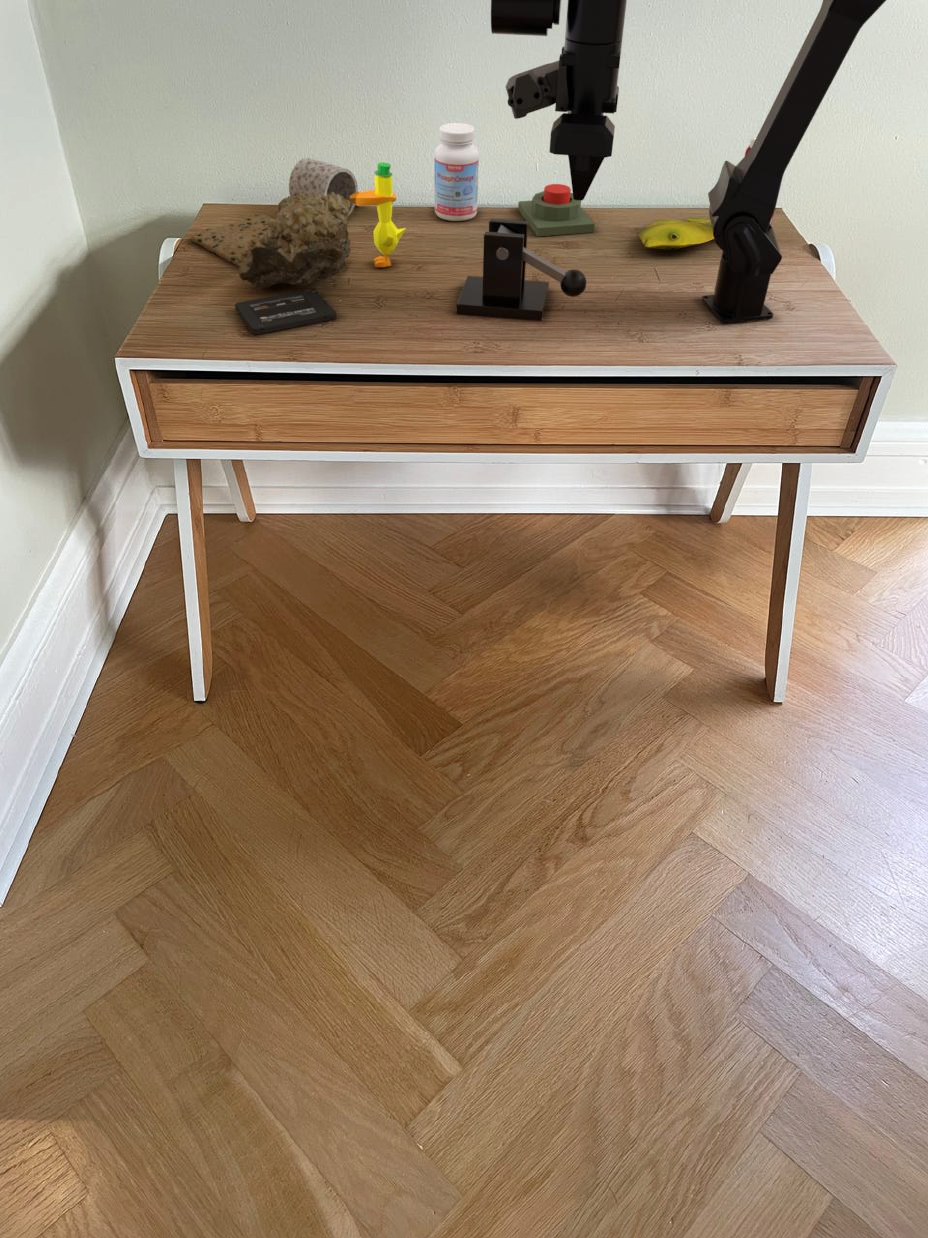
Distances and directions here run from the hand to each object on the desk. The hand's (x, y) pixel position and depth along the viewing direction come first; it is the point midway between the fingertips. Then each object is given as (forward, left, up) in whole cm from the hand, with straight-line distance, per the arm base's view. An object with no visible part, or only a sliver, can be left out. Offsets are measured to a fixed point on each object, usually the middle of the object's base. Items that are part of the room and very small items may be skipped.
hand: (578, 198), depth 105 cm
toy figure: (+14, +20, -12) cm, 28 cm away
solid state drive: (+3, +33, -11) cm, 35 cm away
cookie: (+25, +36, -12) cm, 45 cm away
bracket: (+1, +8, -12) cm, 14 cm away
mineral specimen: (+14, +30, -11) cm, 35 cm away
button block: (+24, -6, -12) cm, 28 cm away
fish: (+18, -16, -11) cm, 26 cm away
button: (+24, -6, -9) cm, 27 cm away
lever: (0, +5, -8) cm, 9 cm away
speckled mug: (+37, +26, -9) cm, 46 cm away
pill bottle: (+29, +7, -12) cm, 33 cm away
